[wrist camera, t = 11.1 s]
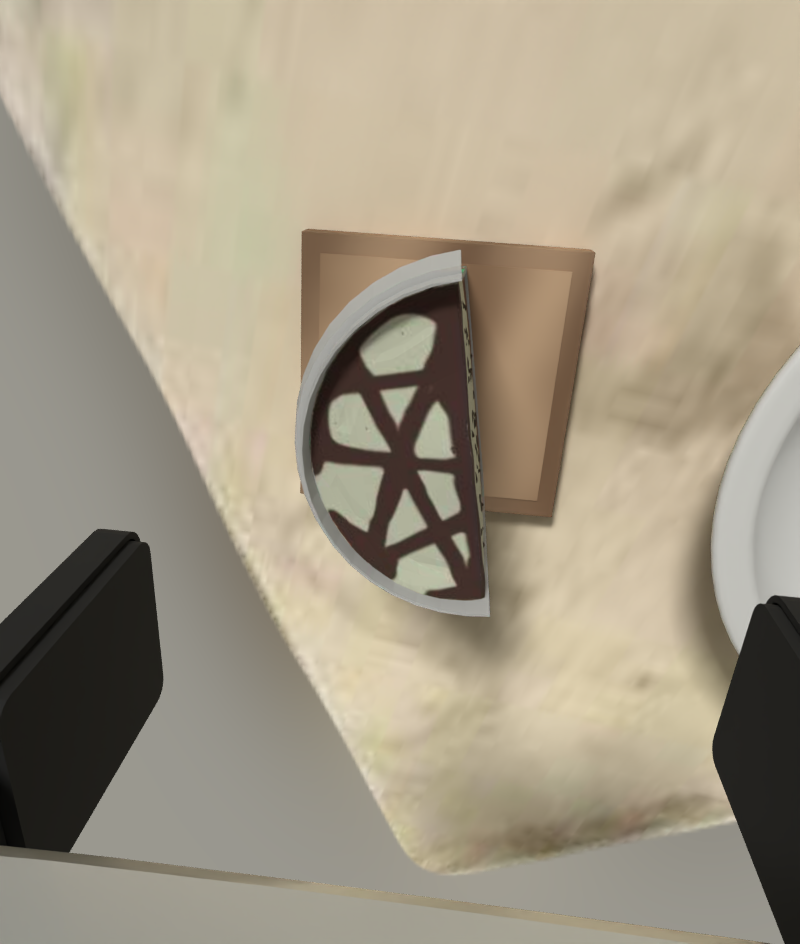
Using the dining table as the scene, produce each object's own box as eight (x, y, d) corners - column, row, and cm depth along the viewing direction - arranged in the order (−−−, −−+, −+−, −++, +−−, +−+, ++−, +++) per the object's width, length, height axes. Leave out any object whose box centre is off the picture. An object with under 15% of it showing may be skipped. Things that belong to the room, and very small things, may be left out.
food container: (314, 244, 29) (245, 282, 20) (463, 227, 29) (460, 257, 20) (357, 510, 34) (315, 637, 25) (485, 501, 33) (491, 629, 24)
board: (590, 249, 30) (595, 253, 29) (549, 505, 35) (551, 517, 33) (307, 228, 30) (301, 231, 29) (305, 482, 35) (300, 493, 34)
